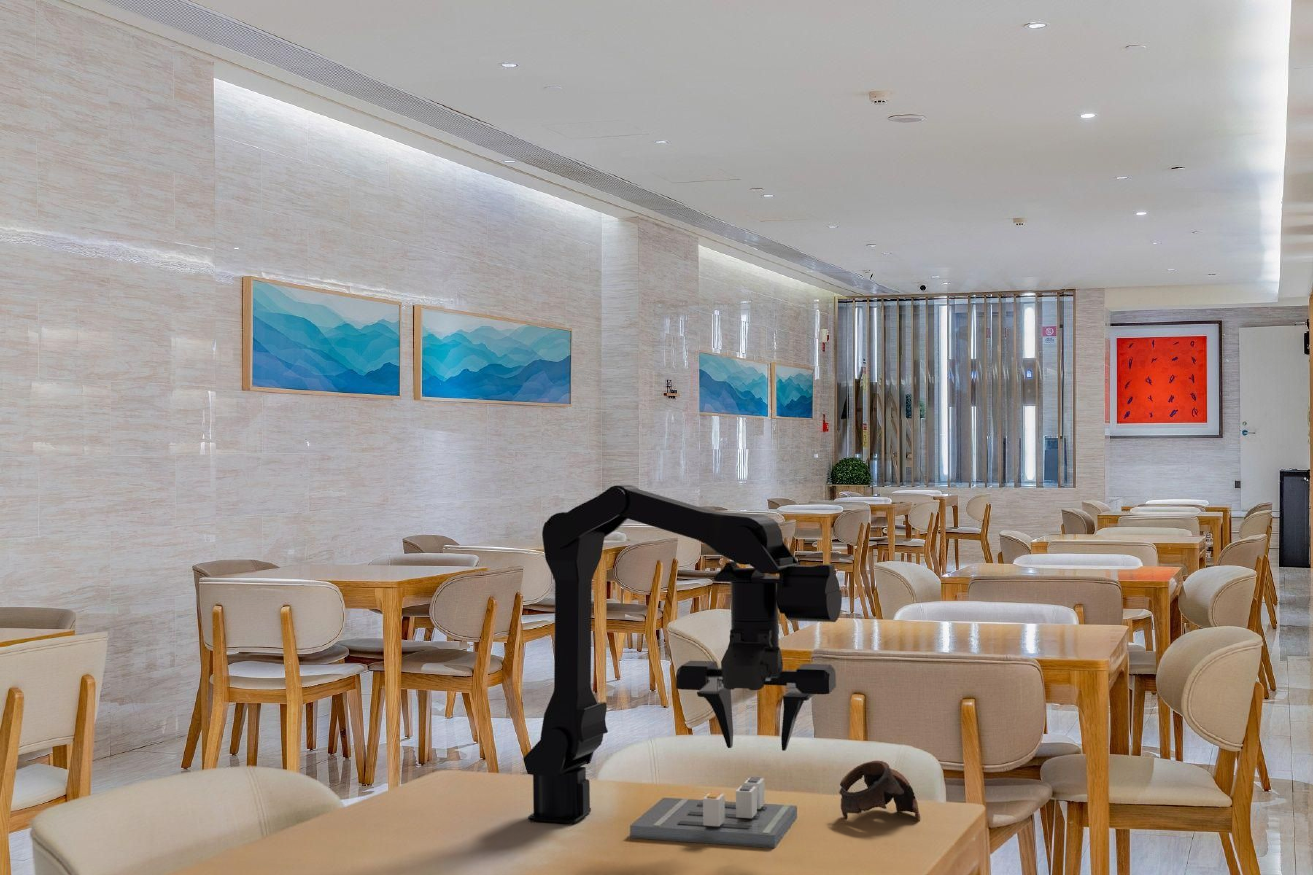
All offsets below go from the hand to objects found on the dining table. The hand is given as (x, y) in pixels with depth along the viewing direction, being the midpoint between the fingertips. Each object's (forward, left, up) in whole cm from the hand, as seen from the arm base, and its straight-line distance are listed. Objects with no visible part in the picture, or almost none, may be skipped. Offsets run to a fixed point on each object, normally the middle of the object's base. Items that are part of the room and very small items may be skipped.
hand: (756, 748), depth 152 cm
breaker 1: (-5, 0, -9) cm, 11 cm away
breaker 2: (-2, +9, -9) cm, 13 cm away
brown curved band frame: (+13, +14, -11) cm, 22 cm away
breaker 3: (-2, +4, -9) cm, 10 cm away
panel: (-6, +4, -11) cm, 13 cm away
